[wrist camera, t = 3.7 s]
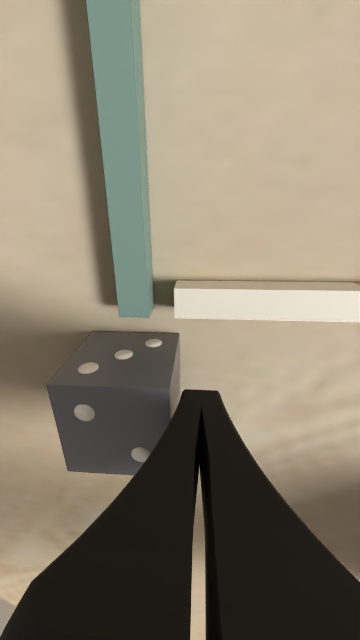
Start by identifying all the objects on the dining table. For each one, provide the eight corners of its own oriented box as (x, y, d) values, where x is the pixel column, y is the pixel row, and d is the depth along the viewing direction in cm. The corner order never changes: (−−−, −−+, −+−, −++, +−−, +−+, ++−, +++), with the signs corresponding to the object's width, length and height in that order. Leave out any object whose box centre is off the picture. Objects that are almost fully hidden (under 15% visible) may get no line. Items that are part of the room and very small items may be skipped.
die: (180, 404, 14) (172, 478, 10) (102, 400, 14) (66, 471, 10) (179, 332, 12) (169, 389, 8) (92, 330, 12) (45, 384, 9)
